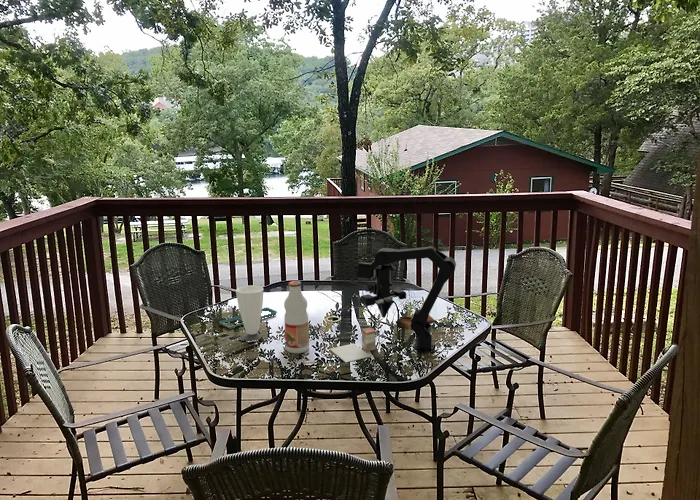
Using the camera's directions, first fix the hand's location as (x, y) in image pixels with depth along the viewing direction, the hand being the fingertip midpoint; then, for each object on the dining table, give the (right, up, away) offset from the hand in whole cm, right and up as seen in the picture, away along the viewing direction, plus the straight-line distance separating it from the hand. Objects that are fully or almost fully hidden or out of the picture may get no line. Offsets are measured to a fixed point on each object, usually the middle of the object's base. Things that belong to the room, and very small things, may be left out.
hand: (383, 317), depth 210 cm
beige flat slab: (-13, -14, -4) cm, 20 cm away
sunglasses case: (+17, -7, +26) cm, 32 cm away
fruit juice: (-35, -13, 0) cm, 37 cm away
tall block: (-6, -13, 0) cm, 14 cm away
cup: (-55, -10, +13) cm, 58 cm away
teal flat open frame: (-61, -6, +33) cm, 69 cm away
